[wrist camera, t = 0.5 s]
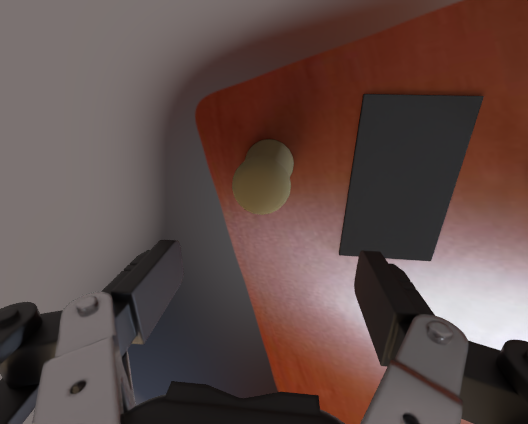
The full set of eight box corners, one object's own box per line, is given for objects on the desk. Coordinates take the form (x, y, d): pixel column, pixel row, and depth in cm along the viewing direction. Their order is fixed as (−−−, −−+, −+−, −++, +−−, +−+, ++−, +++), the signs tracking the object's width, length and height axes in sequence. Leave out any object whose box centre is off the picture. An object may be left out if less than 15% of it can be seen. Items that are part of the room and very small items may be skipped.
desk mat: (363, 94, 27) (364, 94, 27) (481, 96, 26) (483, 96, 26) (338, 253, 35) (339, 255, 34) (429, 259, 34) (431, 261, 33)
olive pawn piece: (237, 149, 31) (211, 169, 20) (284, 131, 29) (281, 143, 19) (255, 194, 33) (240, 232, 22) (300, 179, 31) (305, 212, 21)
